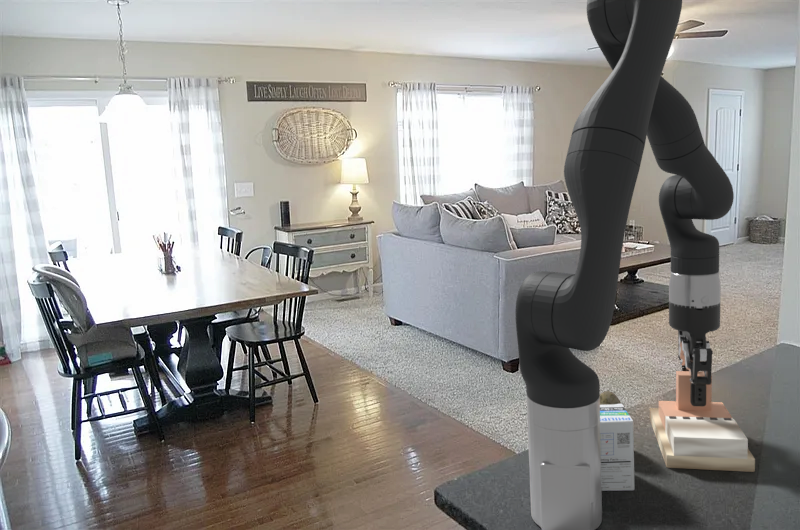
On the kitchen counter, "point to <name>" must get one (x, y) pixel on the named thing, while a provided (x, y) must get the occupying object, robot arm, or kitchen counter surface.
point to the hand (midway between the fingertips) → (693, 396)
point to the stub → (684, 406)
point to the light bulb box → (616, 448)
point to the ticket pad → (695, 460)
